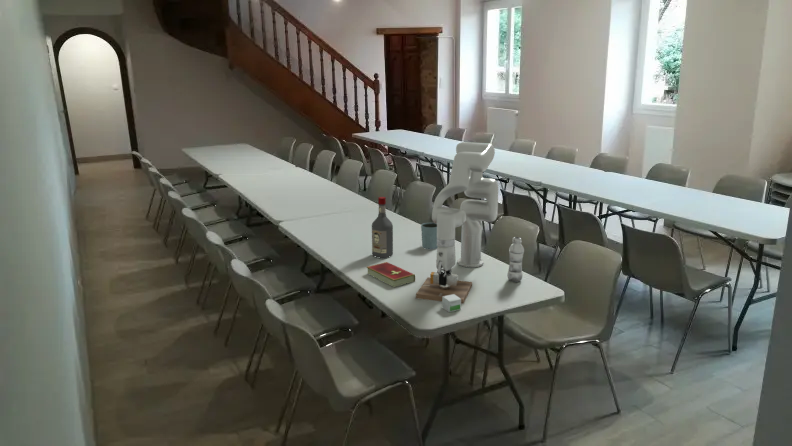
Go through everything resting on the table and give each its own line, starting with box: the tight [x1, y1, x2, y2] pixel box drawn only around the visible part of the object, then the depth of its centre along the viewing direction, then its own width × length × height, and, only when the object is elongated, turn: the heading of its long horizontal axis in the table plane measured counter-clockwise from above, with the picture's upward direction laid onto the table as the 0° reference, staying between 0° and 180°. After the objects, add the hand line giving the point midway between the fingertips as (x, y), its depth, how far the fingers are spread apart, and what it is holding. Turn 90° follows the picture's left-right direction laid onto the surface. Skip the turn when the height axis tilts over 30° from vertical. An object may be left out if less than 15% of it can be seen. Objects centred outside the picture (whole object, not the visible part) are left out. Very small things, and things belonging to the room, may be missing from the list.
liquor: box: [371, 196, 394, 259], centre depth 292 cm, size 9×9×30 cm
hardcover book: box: [366, 261, 416, 288], centre depth 266 cm, size 12×21×4 cm, turn 37°
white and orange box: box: [430, 271, 458, 289], centre depth 248 cm, size 11×4×6 cm, turn 76°
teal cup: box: [420, 222, 438, 250], centre depth 308 cm, size 10×10×12 cm
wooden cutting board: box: [415, 276, 473, 305], centre depth 249 cm, size 20×20×2 cm
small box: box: [441, 294, 462, 313], centre depth 233 cm, size 6×6×5 cm
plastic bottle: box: [507, 236, 525, 283], centre depth 259 cm, size 6×7×20 cm
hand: (444, 282), depth 248 cm, fingers closed on white and orange box, 4 cm apart
